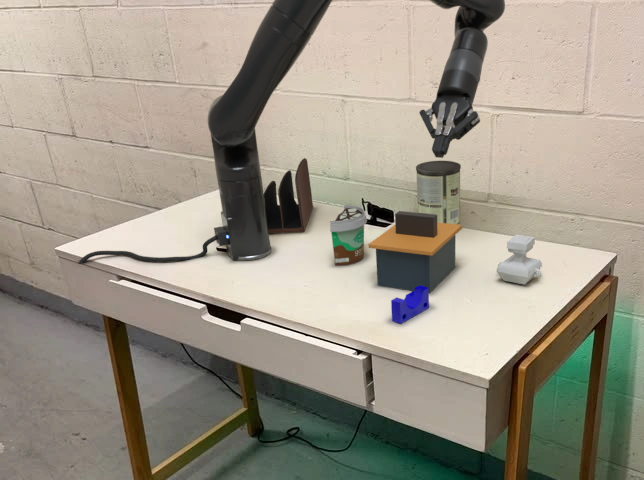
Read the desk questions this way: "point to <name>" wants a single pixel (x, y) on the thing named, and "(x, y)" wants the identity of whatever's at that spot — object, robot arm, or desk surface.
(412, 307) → the cable holder
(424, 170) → the coffee can
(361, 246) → the food container
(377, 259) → the bin
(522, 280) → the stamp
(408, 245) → the lid
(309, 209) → the letter holder
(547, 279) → the desk surface
